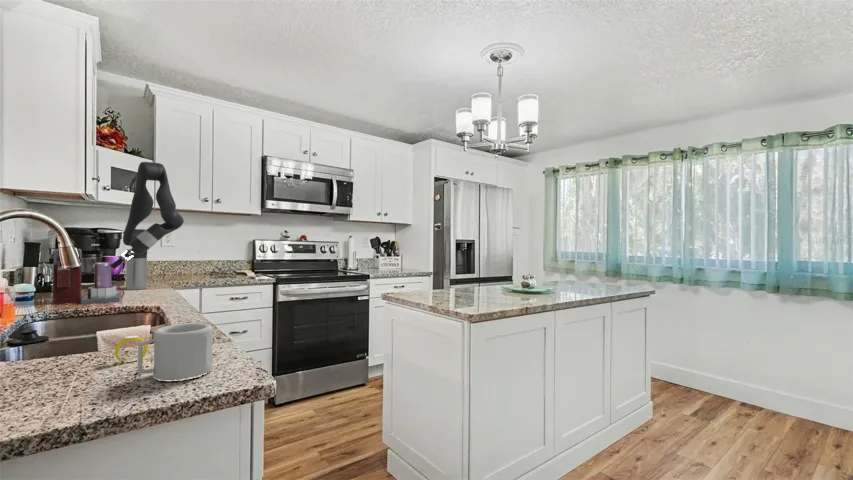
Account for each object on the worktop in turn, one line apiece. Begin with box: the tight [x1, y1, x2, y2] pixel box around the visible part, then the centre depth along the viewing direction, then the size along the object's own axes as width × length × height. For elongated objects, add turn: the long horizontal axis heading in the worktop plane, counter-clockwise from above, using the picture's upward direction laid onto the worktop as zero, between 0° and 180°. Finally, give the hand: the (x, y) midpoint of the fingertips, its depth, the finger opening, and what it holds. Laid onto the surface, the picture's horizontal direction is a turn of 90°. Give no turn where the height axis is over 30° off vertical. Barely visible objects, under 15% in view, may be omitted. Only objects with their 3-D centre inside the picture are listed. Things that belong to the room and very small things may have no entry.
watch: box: [114, 335, 148, 362], centre depth 92 cm, size 6×3×6 cm, turn 139°
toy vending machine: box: [52, 238, 83, 305], centre depth 172 cm, size 9×11×28 cm
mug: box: [137, 322, 214, 380], centre depth 83 cm, size 14×11×10 cm
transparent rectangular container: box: [80, 285, 122, 305], centre depth 179 cm, size 18×13×6 cm
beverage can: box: [93, 261, 112, 288], centre depth 179 cm, size 6×6×15 cm
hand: (112, 266), depth 181 cm, fingers open, 8 cm apart
